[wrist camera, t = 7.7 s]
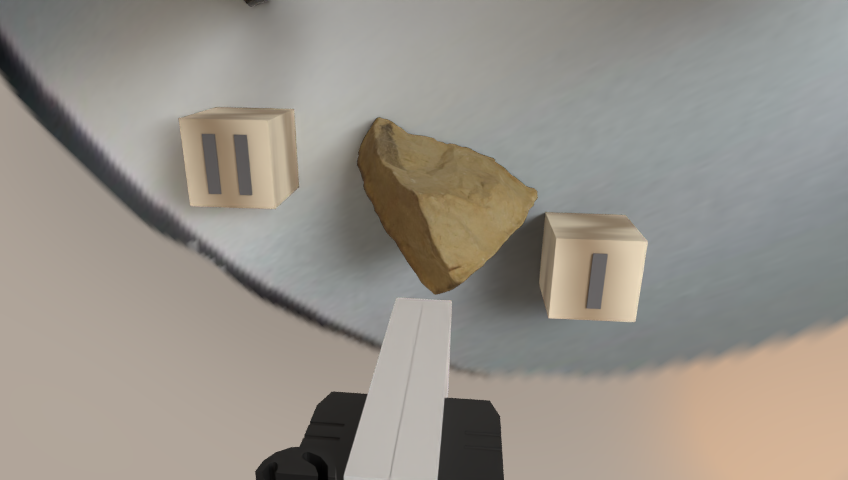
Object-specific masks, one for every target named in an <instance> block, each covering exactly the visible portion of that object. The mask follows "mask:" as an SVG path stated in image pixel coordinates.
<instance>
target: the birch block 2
mask: <svg viewBox="0 0 848 480" xmlns="http://www.w3.org/2000/svg"><path fill="white" fill-rule="evenodd" d="M647 244H648V241H647V240H646V239H645V238H644V237H643V235H642V234H641V233H640V232H639V231H638V230H637V228H636V227H635V226H634V225H633V224H632V222H631V221H630V220H629V219H628V218H627V217H626V215H611V214H582V213H553V212H545V222H544V233H543V245H542V256H541V267H540V278H539V285H540V289H541V293H542V296H543V300H544V303H545V307H546V311H547V314H548V318H556V319H578V320H600V321H622V322H635V320H636V314H637V308H638V301H639V295H640V288H641V282H642V276H643V269H644V263H645V256H646V250H647Z"/></svg>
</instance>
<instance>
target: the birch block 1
mask: <svg viewBox="0 0 848 480" xmlns="http://www.w3.org/2000/svg"><path fill="white" fill-rule="evenodd" d="M179 125H180V133H181V140H182V148H183V156H184V163H185V171H186V178H187V186H188V193H189V201H190V206H201V207H230V208H259V209H276V208H277V207H278V206H279V205H280V204H281V203H282V202H283V201H284V200H286V199H287V198H288V197H289V196H290V195H291V194H292V193H293V192H294V191H295V190H296V189H297V188H299V178H298V163H297V147H296V131H295V115H294V109H276V108H233V107H215V108H211V109H208V110H205V111H201V112H198V113H195V114H191V115H188V116H185V117H181V118H179Z"/></svg>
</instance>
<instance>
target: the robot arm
mask: <svg viewBox="0 0 848 480" xmlns="http://www.w3.org/2000/svg"><path fill="white" fill-rule="evenodd" d="M451 310H452V301H451V300H432V299H414V298H396V300H395V303H394V307H393V310H392V314H391V317H390V320H389V324H388V327H387V331H386V334H385V337H384V341H383V344H382V347H381V351H380V354H379V358H378V361H377V364H376V368H375V371H374V375H373V378H372V382H371V385H370V388H369V392H368V394H360V393H345V392H331V393H330V394H329V395H328V396H327V397H326V398H324V399H323V400H322V401H321V402H320V403H319V404H318V405H317V407H316V409H315V411H314V414H313V416H312V419H311V421H310V425H309V426H308V428H307V431H306V433H305V437H304V438H303V440H302V442H301V445H300V447H291V448H288V449H285V450H282V451H279V452H276V453H274V454H273V455H272V456H270V457H268V458H267V459H265V460H264V461H263V462H262V464H261V465H260V466H259V467H258V469H257V470H256V471H255V472H256V480H504V474H503V459H502V443H501V442H502V441H501V425H500V416H499V414H498V413H497V411H496V410H495V408H494V407H493V405H492V404H491V402H490V401H486V400H472V399H457V398H448V385H449V360H450V335H451Z"/></svg>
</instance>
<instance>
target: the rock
mask: <svg viewBox="0 0 848 480" xmlns="http://www.w3.org/2000/svg"><path fill="white" fill-rule="evenodd" d="M358 155H359V156H358V160H357V166H358V168H359V170H360V172H361V176H362V179H363V181H364V185H363V187H364V190H365V191H366V194H367V196H368V197H369V199H370V201H371V202H372V204H373V206H374V210H375V212H376V213H377V215H378V216H379V218H380V221H381V223H382V225H383V227H384V229H385V230H386V232H387V234H388V235H389V236H390V237H391V238H392V239H393V240H395V242H396V244H397V246H398V247H399V249H400V251H401V252H402V254H403V255H404V257H405V258H406V260H407V262H408V263H409V265H410V266H411V267H412V269H413V270H414V272H415V273H416V274H417V276H418V278H419V280H420V281H421V283H422V284H423V285H425V286H426V287H427V288H428V289H429V290H430V291H432V293H433V294H435V295H436V294H440V293H444V292H447V291H450V290H452V289H454V288H456V287H457V286H458V285H460V284H461V283H463V282H464V281H465V280H467V278H468V277H469V276H470V275H472V274H473V273H474V272H475V271H476V270H478V269H479V268H481V267H482V266H483V265H484V264H485V262H486V261H487V260H489V259H490V258H491V257H492V256H494V255H495V253H496V252H497V251H498V250H499V248H500V247H501V246H502V245H503V243H504V242H505V241H507V240H508V238H509V237H510V235H512V234H513V233H514V232H515V230H517V229H518V228H519V227H521V226H522V224H523V223H524V221H525V219H526V217H527V214H528V211H529V209H530V208H531V207H532V206H534V202H535V200H537V198H538V196H537V190H536V189H534V188H530V187H527V186H525V185H524V184H523V183H522V182H520V181H519V180H518V179H517V178H515V177H514V176H512V175H511V174H510V173H509V172H508V171H507V170H506V169H505V168H504V167H502V166H501V165H499V164H498V163H496V162H495V159H494V158H491V157H487V156H485V155H481V154H479V153H477V152H475V151H473V150H472V149H469V148H467V147H460V146H457V145H455V144H445V143H443V142H439V141H436V140H435V139H434V138H431V137H426V136H420V135H412V134H408V133H407V132H405V131H404V130H403V129H402V128H400V127H398V126H397V125H395V124H394V123H393V122H392V121H390V120H388V119H382V118H379V117H378V118H377V119H376V120H375V121H374V123H373V125H372V126H371V128H370V130H369V131H368V133H367V134H366V136H365V137H364V139H363V141H362V143H361V146H360V149H359V152H358Z"/></svg>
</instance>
